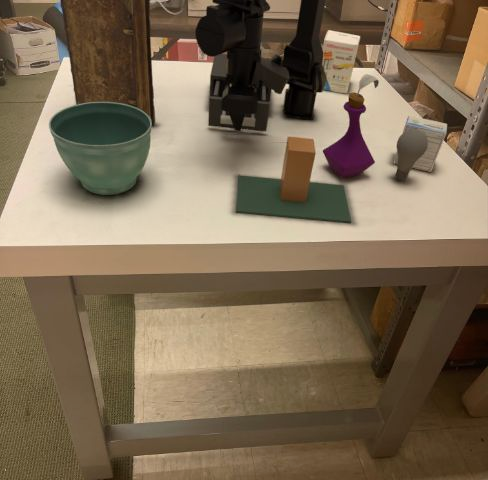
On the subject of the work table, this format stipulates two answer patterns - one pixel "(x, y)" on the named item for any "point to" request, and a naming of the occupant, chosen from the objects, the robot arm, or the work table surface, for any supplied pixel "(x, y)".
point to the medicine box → (434, 136)
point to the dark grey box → (224, 74)
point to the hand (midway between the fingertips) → (237, 130)
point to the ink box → (339, 59)
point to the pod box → (297, 169)
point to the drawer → (250, 120)
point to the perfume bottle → (352, 138)
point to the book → (110, 51)
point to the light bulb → (409, 151)
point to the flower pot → (103, 144)
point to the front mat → (269, 202)
